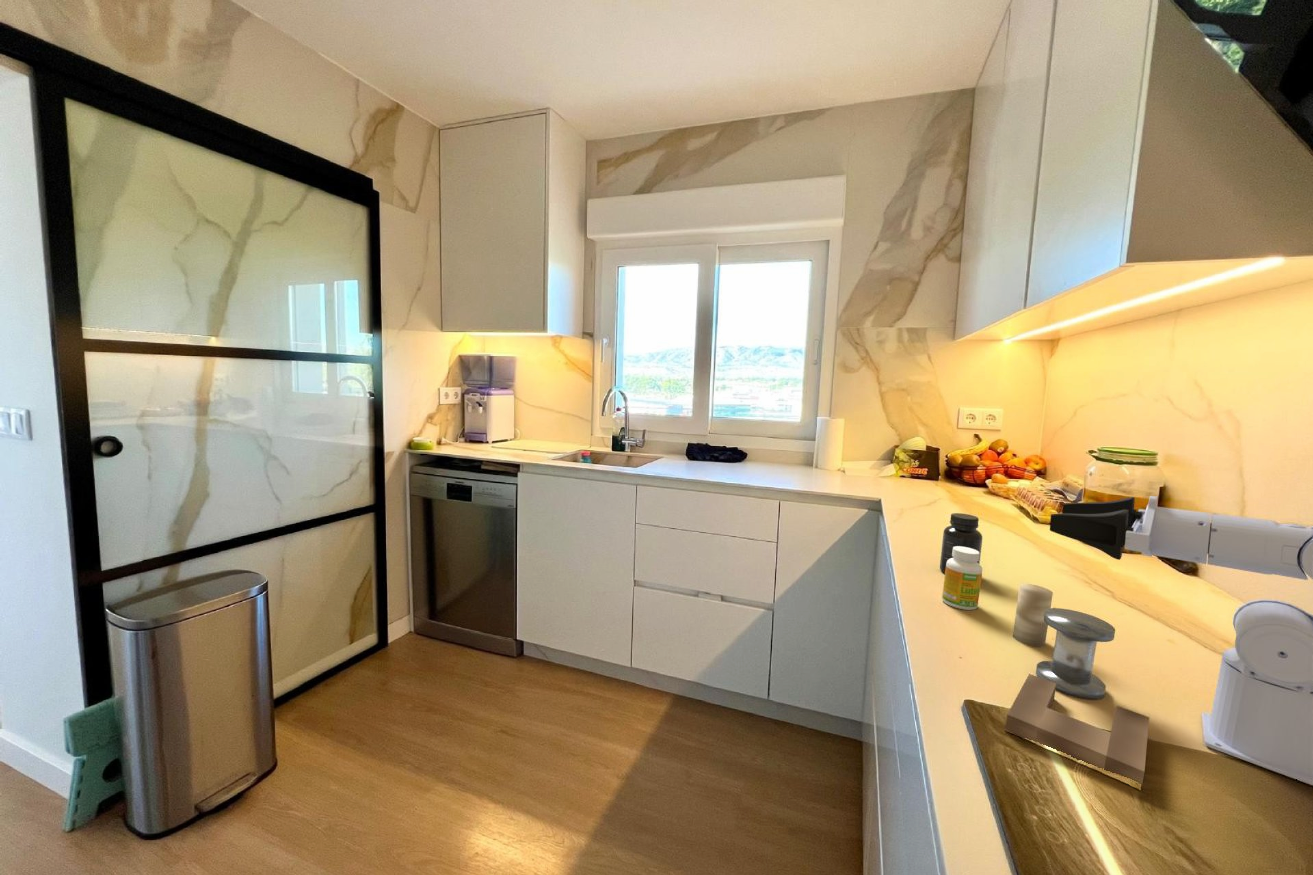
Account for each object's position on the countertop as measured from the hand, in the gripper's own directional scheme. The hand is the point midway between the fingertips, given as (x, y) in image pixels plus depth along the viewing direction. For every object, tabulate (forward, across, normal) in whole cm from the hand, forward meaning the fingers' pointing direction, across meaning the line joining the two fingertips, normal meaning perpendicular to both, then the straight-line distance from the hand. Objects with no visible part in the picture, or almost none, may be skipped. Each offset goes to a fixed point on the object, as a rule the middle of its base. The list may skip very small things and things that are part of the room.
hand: (1057, 516), depth 68 cm
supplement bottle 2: (+15, -14, +21) cm, 29 cm away
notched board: (-5, +13, +21) cm, 25 cm away
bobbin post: (-3, +1, +21) cm, 21 cm away
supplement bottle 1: (+20, -30, +21) cm, 42 cm away
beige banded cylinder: (+4, -8, +21) cm, 23 cm away
